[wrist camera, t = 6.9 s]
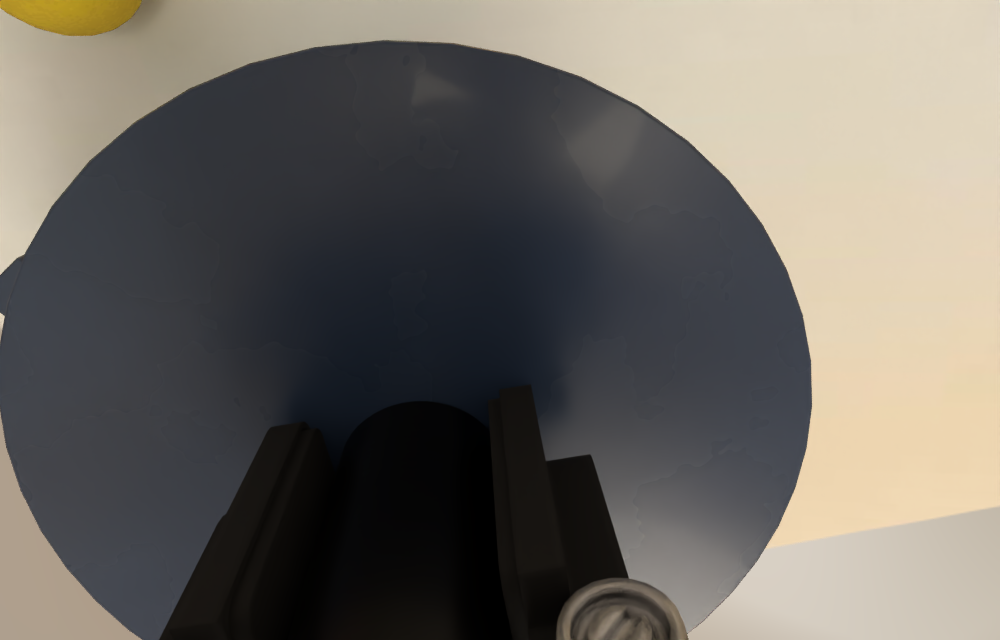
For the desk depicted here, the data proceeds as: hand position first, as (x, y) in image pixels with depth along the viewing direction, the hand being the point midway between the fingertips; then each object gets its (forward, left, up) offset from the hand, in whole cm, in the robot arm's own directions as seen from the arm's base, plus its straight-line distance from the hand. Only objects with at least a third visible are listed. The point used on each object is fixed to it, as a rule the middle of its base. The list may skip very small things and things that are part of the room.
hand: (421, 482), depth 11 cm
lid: (0, 0, -1) cm, 1 cm away
